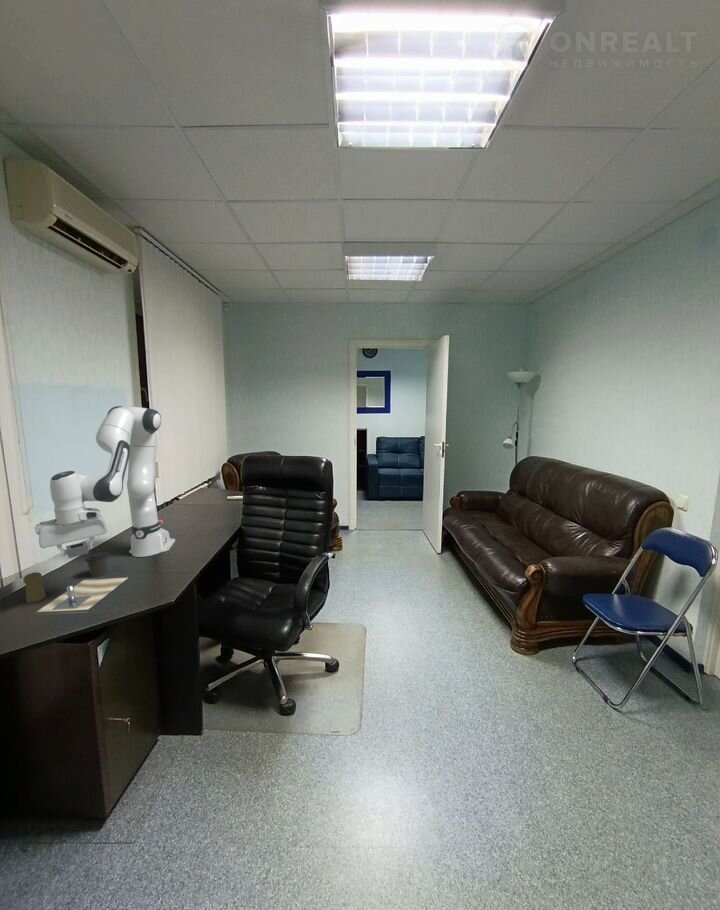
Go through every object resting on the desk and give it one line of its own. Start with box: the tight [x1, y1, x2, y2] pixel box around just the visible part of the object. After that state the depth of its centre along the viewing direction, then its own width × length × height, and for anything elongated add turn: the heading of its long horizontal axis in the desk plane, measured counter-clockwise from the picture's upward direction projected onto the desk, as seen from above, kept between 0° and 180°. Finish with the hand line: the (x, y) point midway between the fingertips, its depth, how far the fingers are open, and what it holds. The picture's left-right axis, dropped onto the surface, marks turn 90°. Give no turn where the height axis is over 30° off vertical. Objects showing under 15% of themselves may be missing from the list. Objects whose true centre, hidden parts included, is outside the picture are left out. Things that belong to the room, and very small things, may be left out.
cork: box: [23, 571, 47, 604], centre depth 140 cm, size 6×6×11 cm
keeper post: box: [53, 584, 91, 610], centre depth 135 cm, size 8×8×6 cm
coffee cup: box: [84, 551, 109, 578], centre depth 159 cm, size 8×8×10 cm
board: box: [35, 577, 128, 616], centre depth 143 cm, size 24×18×1 cm
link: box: [65, 541, 90, 559], centre depth 139 cm, size 6×6×3 cm
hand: (77, 551), depth 139 cm, fingers closed on link, 6 cm apart
